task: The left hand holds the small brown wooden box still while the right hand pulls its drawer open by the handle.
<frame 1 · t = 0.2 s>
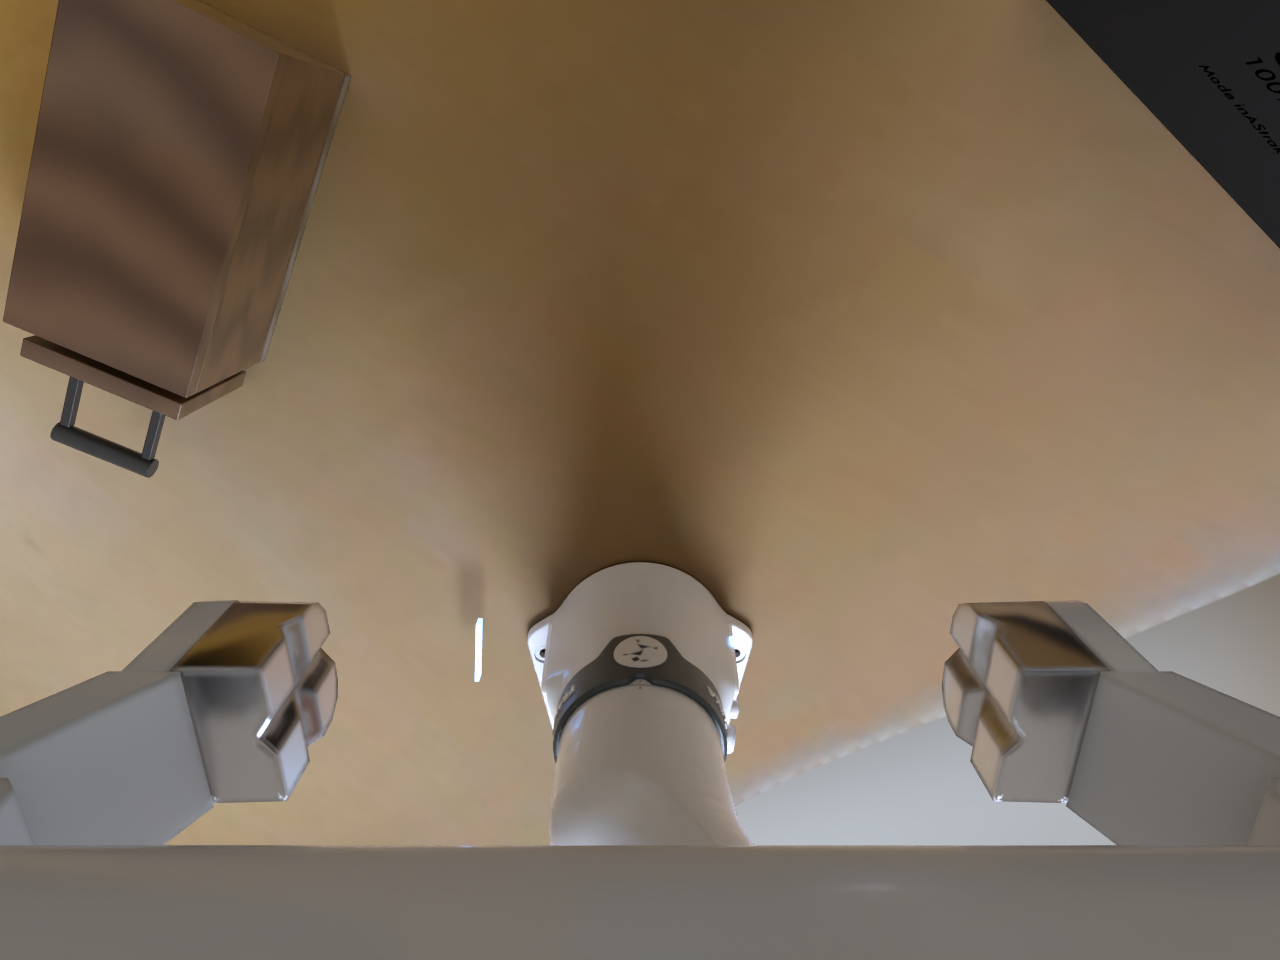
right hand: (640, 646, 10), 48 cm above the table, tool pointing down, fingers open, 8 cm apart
brown wooden box: (227, 191, 53), on the table
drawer: (163, 280, 50), point 5 cm above the table, slide at 1.0 cm
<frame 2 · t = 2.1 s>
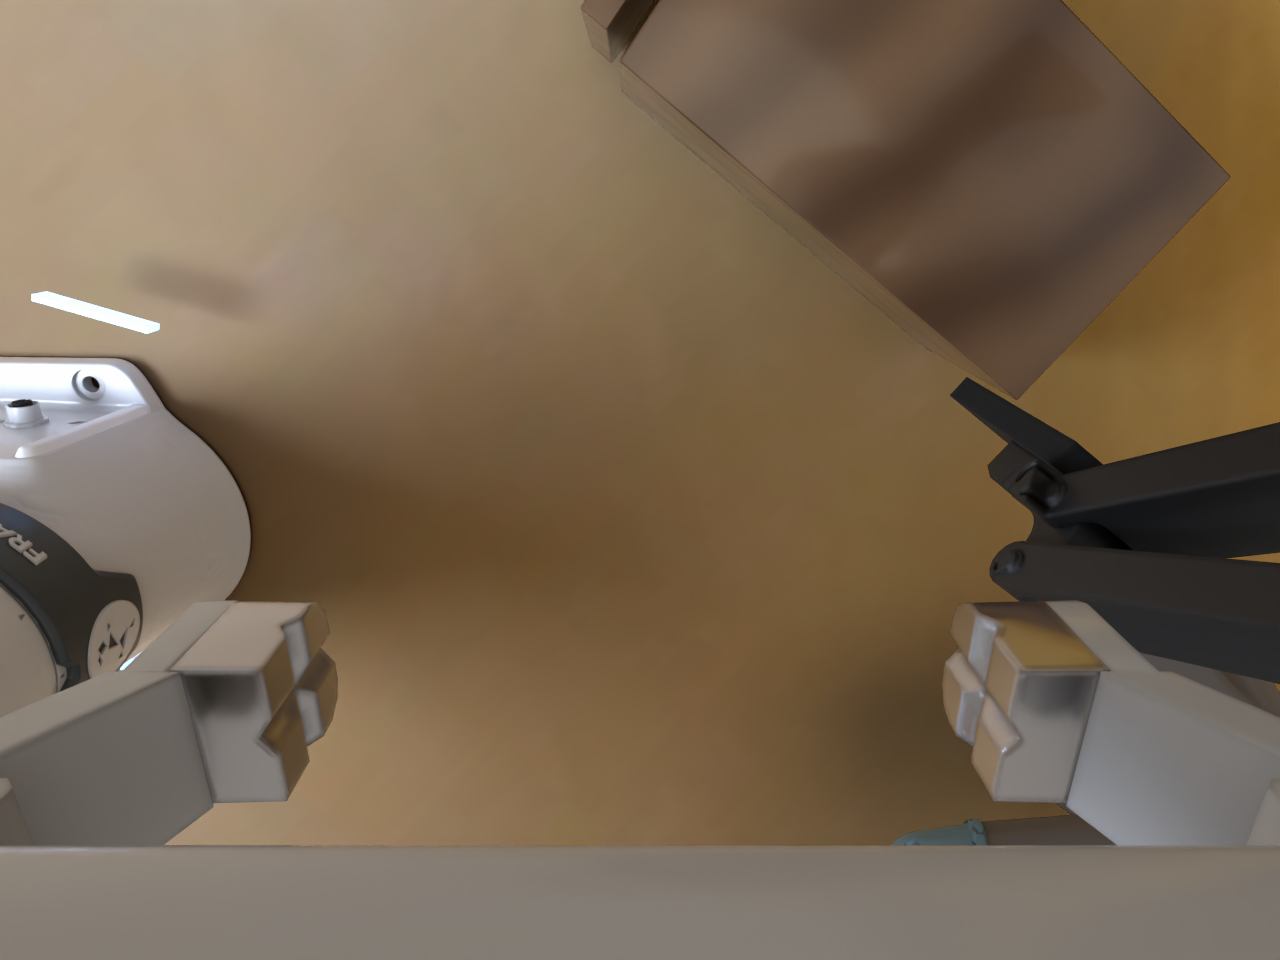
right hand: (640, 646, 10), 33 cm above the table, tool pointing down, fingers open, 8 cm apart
brown wooden box: (855, 135, 38), on the table
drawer: (785, 34, 32), point 5 cm above the table, slide at 1.0 cm
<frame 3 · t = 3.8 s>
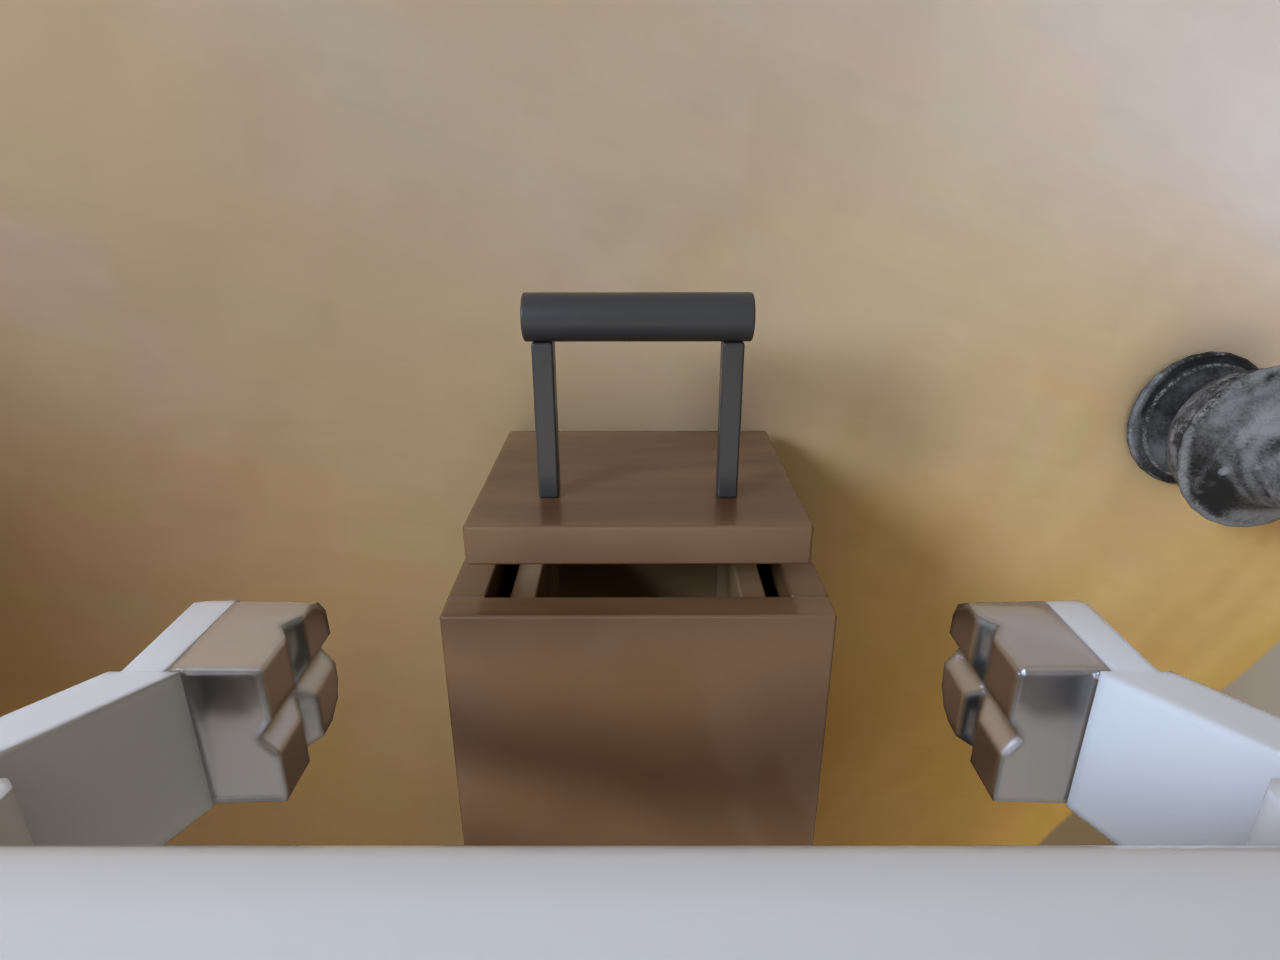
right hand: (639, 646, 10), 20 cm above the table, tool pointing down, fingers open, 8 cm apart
brown wooden box: (638, 689, 35), on the table, touching left hand
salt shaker: (1193, 417, 30), on the table
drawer: (638, 644, 28), point 5 cm above the table, slide at 1.0 cm
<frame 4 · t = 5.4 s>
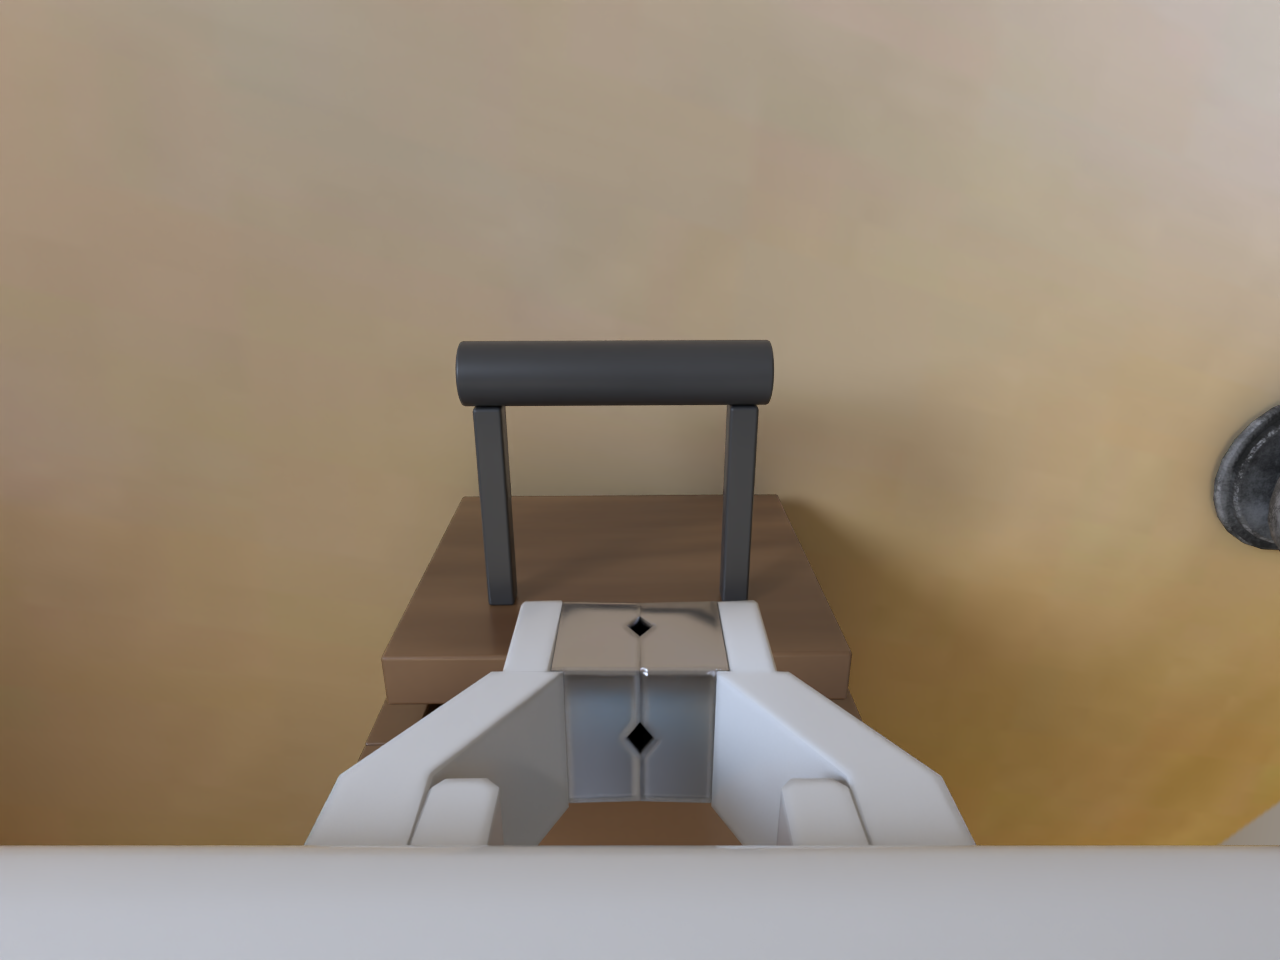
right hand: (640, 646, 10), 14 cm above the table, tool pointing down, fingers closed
brown wooden box: (624, 790, 29), on the table, touching left hand
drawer: (621, 765, 22), point 5 cm above the table, slide at 1.0 cm
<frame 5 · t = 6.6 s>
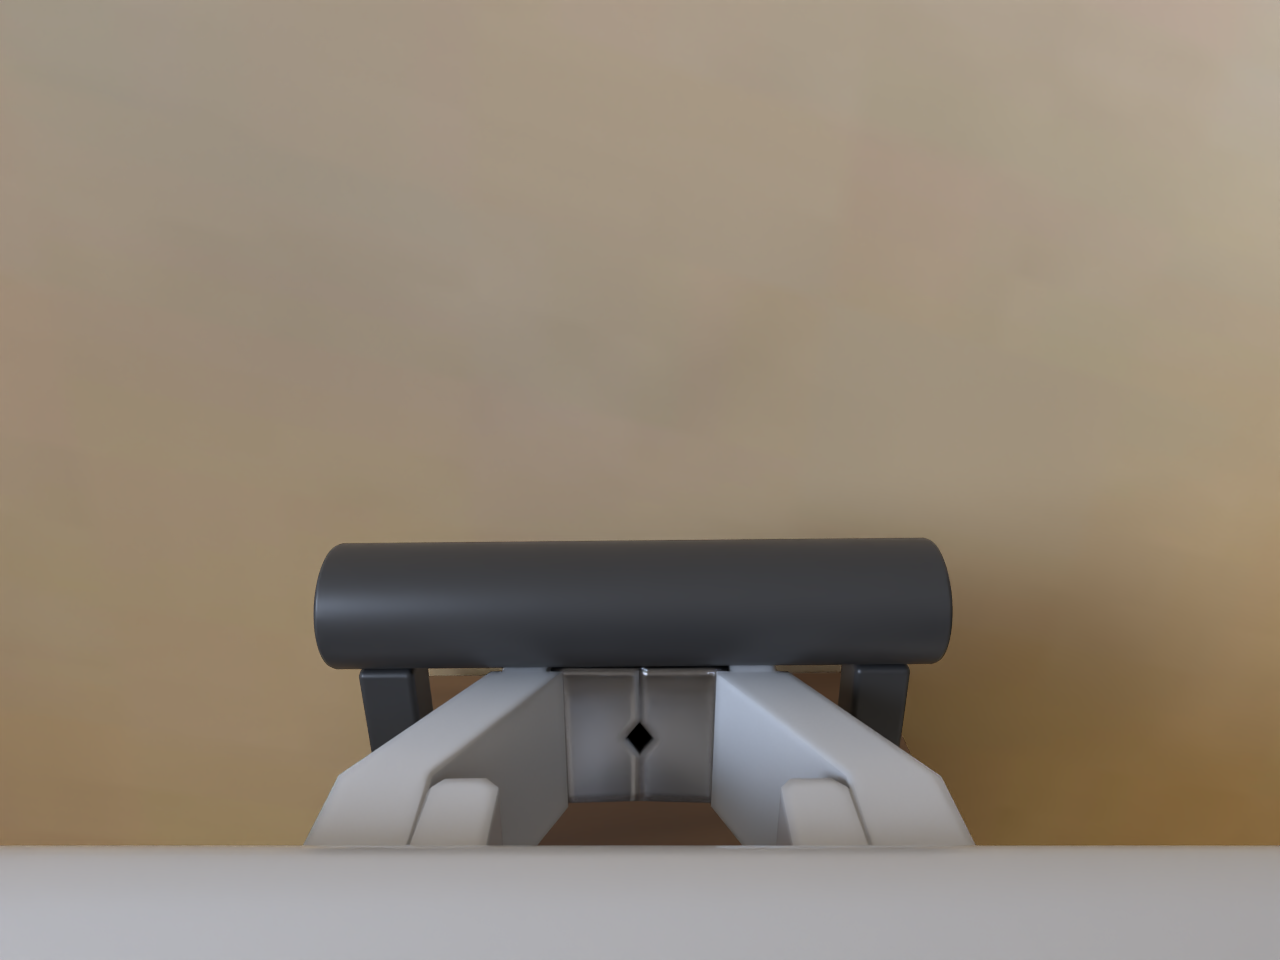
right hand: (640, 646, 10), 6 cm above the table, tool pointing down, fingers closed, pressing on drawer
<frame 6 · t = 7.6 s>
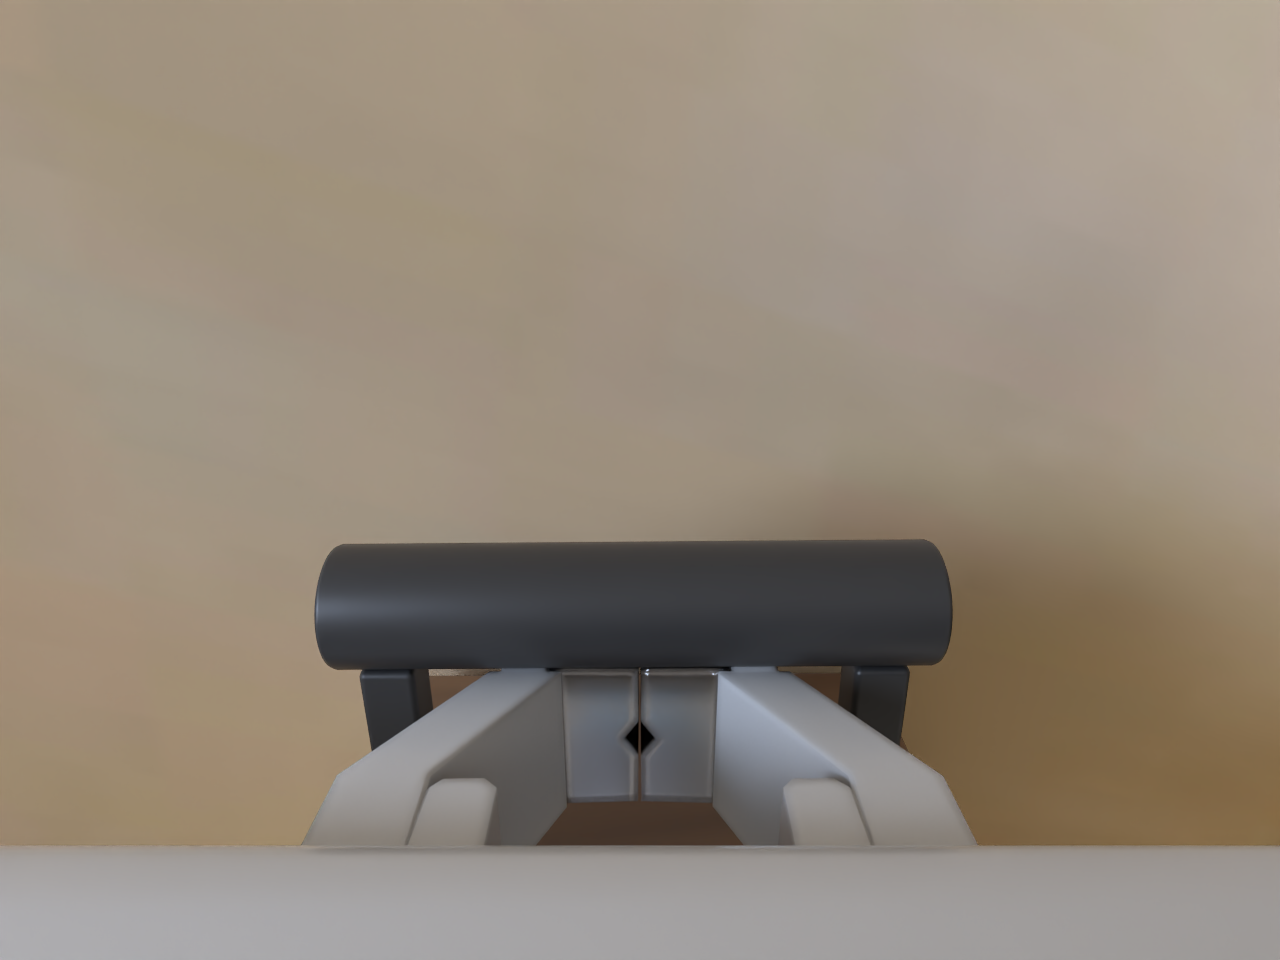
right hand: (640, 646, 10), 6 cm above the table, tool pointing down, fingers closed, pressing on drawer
when the left hand's fingers open (6 cm above the table, at t = 9.5 s): brown wooden box stays where it is, on the table.
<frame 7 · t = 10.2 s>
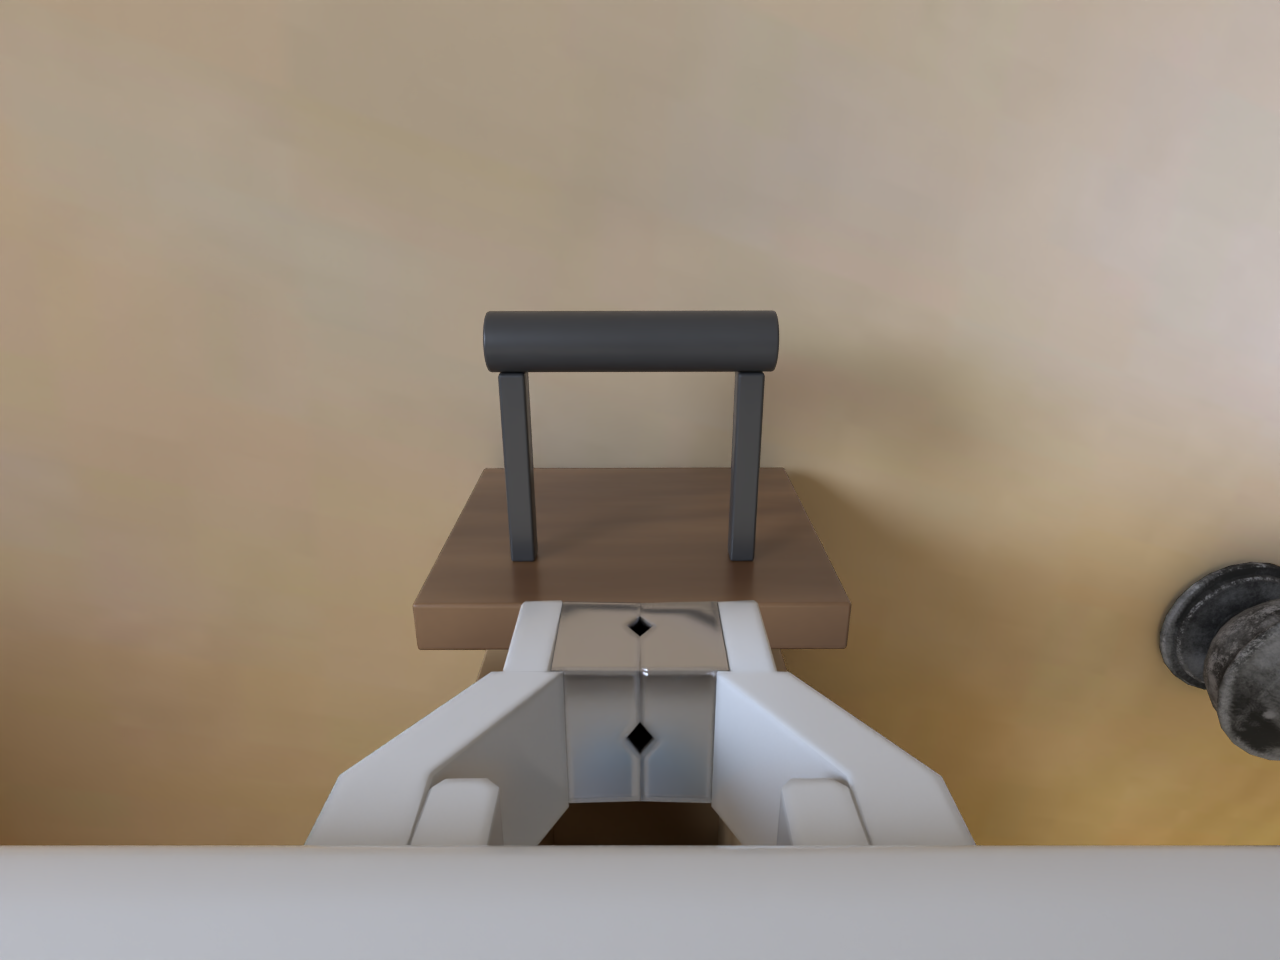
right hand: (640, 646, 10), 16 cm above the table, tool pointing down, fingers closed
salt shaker: (1230, 624, 28), on the table
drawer: (634, 723, 23), point 5 cm above the table, slide at 7.6 cm
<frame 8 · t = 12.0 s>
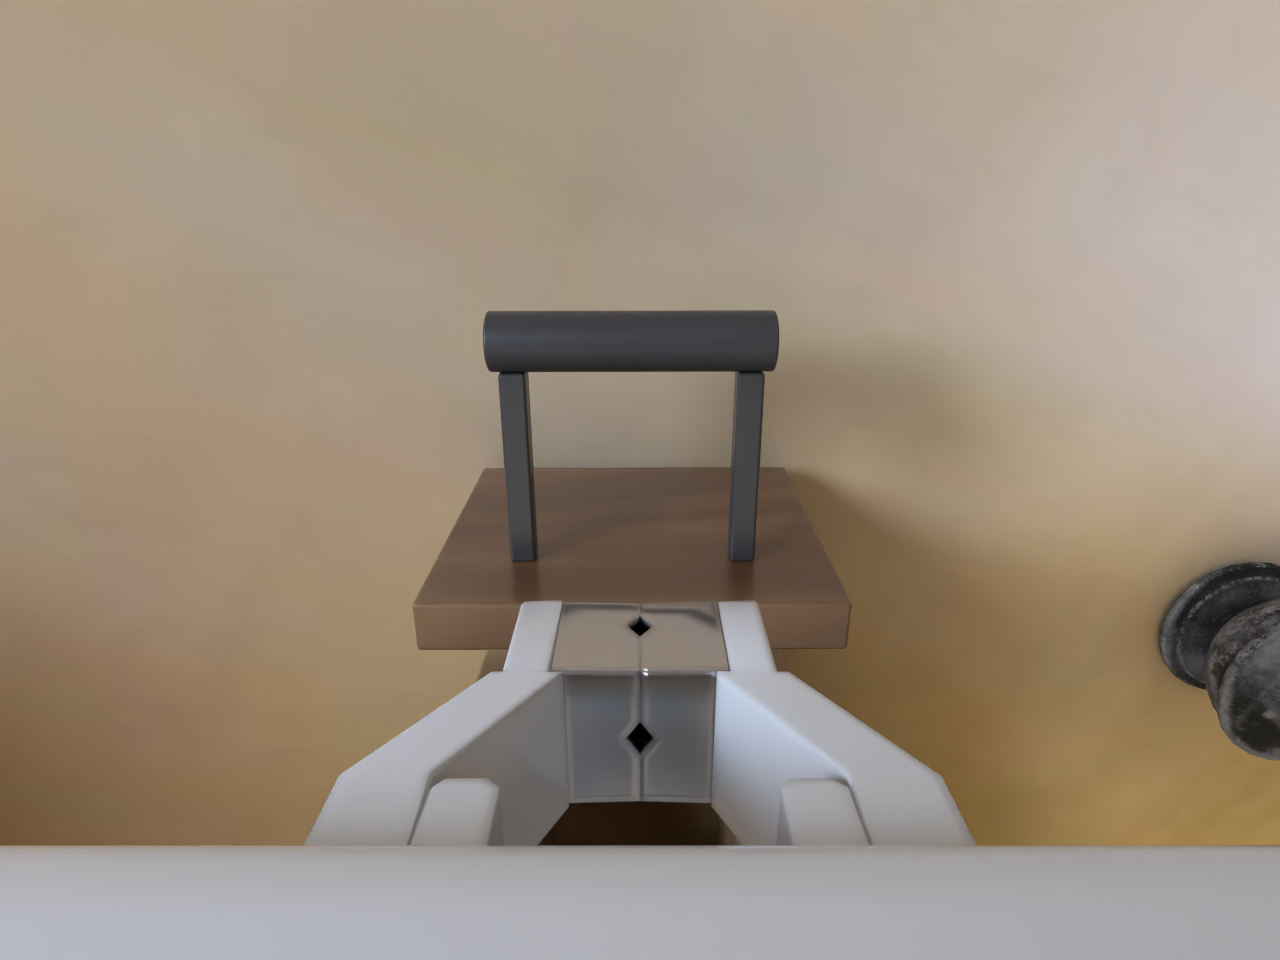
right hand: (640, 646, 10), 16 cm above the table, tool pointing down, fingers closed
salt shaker: (1230, 624, 28), on the table
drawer: (634, 722, 23), point 5 cm above the table, slide at 7.6 cm
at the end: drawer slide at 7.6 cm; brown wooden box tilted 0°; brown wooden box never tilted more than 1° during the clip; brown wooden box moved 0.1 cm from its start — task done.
